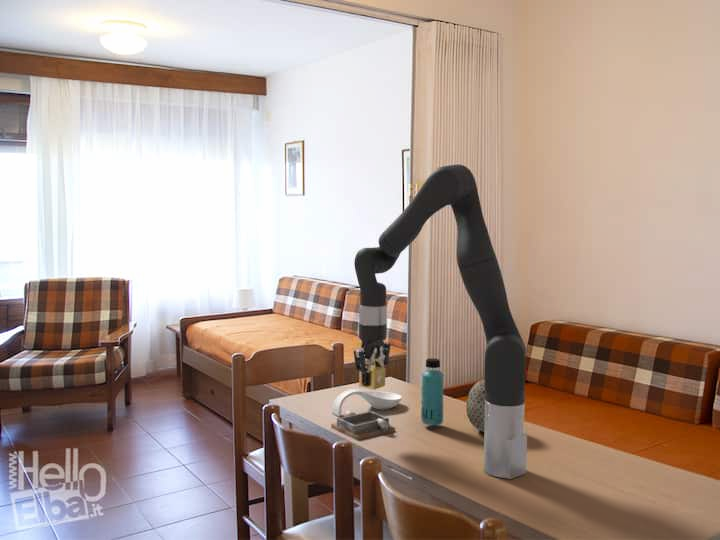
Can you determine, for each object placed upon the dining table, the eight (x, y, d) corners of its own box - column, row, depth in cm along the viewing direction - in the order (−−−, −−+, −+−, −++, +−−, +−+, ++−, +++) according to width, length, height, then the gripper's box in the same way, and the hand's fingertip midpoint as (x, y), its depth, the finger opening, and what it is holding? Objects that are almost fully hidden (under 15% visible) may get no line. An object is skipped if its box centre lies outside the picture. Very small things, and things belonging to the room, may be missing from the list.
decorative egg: (470, 438, 181) (471, 385, 180) (462, 425, 193) (463, 374, 191) (512, 438, 181) (514, 385, 180) (502, 424, 193) (503, 374, 192)
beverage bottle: (443, 423, 194) (444, 356, 192) (443, 431, 187) (444, 361, 185) (420, 422, 194) (421, 356, 193) (420, 430, 188) (421, 361, 186)
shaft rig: (397, 432, 186) (397, 419, 186) (360, 441, 179) (360, 428, 178) (365, 418, 199) (365, 406, 198) (329, 426, 191) (329, 414, 191)
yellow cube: (385, 385, 179) (385, 367, 179) (374, 389, 175) (374, 371, 175) (370, 382, 182) (370, 364, 182) (359, 386, 178) (359, 368, 178)
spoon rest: (387, 399, 219) (388, 378, 218) (409, 408, 209) (409, 386, 208) (325, 411, 206) (325, 388, 205) (345, 421, 196) (345, 398, 196)
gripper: (377, 316, 185) (376, 376, 187) (345, 323, 174) (344, 386, 175) (399, 319, 180) (398, 380, 182) (368, 327, 169) (367, 391, 171)
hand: (372, 383), depth 179 cm, fingers closed on yellow cube, 5 cm apart
